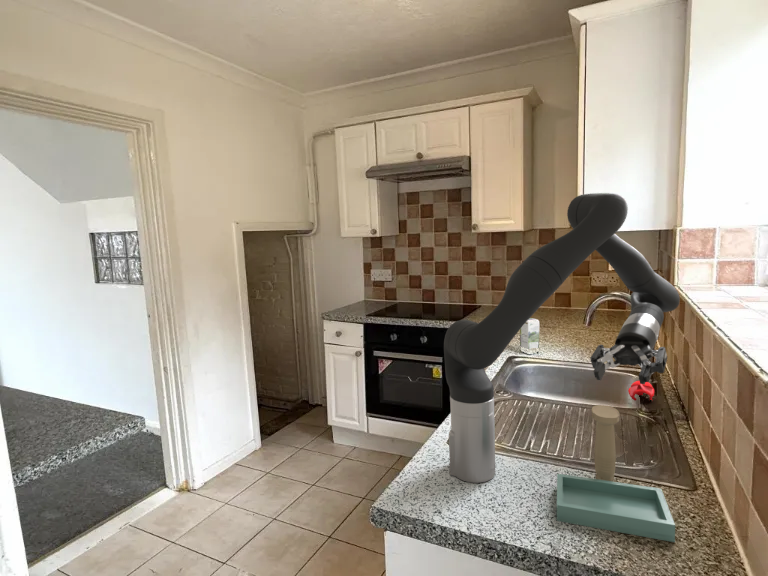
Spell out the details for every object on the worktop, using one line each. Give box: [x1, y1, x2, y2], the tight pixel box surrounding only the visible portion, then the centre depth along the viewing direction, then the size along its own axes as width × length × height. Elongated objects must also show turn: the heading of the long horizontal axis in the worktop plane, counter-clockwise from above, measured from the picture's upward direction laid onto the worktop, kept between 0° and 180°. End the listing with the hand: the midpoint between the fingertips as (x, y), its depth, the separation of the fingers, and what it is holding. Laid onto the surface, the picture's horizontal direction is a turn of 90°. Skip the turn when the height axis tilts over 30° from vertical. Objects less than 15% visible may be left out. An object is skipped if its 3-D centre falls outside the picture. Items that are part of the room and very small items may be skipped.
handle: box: [591, 404, 620, 482], centre depth 89 cm, size 5×6×15 cm
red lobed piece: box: [628, 380, 655, 402], centre depth 131 cm, size 8×6×6 cm
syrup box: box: [519, 317, 540, 349], centre depth 187 cm, size 6×6×14 cm
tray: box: [556, 473, 676, 543], centre depth 80 cm, size 18×11×3 cm, turn 68°
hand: (618, 378), depth 92 cm, fingers open, 8 cm apart
